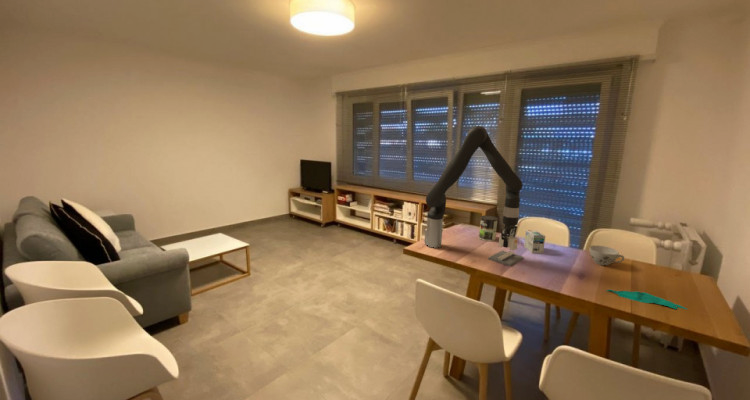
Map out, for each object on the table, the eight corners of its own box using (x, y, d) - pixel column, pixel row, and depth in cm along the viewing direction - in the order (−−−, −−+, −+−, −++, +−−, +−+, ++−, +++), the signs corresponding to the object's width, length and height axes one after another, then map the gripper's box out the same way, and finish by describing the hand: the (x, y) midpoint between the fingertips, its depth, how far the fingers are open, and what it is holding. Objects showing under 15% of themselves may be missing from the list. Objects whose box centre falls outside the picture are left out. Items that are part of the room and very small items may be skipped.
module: (498, 246, 169) (499, 235, 168) (502, 244, 172) (503, 234, 171) (513, 250, 163) (514, 239, 162) (517, 248, 166) (518, 237, 165)
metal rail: (497, 259, 165) (497, 257, 165) (509, 253, 174) (509, 251, 174) (502, 261, 163) (502, 259, 163) (514, 254, 172) (514, 252, 172)
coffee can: (485, 241, 196) (487, 220, 193) (475, 236, 205) (477, 215, 203) (499, 240, 199) (501, 219, 196) (488, 235, 209) (490, 215, 206)
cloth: (688, 306, 126) (689, 301, 125) (688, 319, 116) (690, 314, 116) (609, 284, 144) (610, 279, 143) (603, 294, 134) (604, 289, 134)
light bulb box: (543, 253, 178) (546, 235, 176) (531, 253, 178) (534, 235, 176) (534, 247, 188) (536, 229, 186) (523, 246, 189) (525, 229, 186)
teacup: (585, 263, 165) (588, 249, 163) (588, 257, 174) (590, 243, 172) (621, 272, 155) (624, 257, 154) (622, 264, 165) (625, 250, 163)
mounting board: (488, 259, 168) (488, 257, 168) (502, 252, 179) (502, 250, 178) (510, 266, 159) (510, 264, 159) (523, 258, 170) (523, 256, 170)
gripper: (510, 211, 171) (506, 241, 175) (497, 215, 162) (494, 247, 165) (523, 214, 166) (520, 245, 169) (511, 218, 156) (508, 251, 160)
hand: (507, 245), depth 167 cm, fingers closed on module, 4 cm apart
